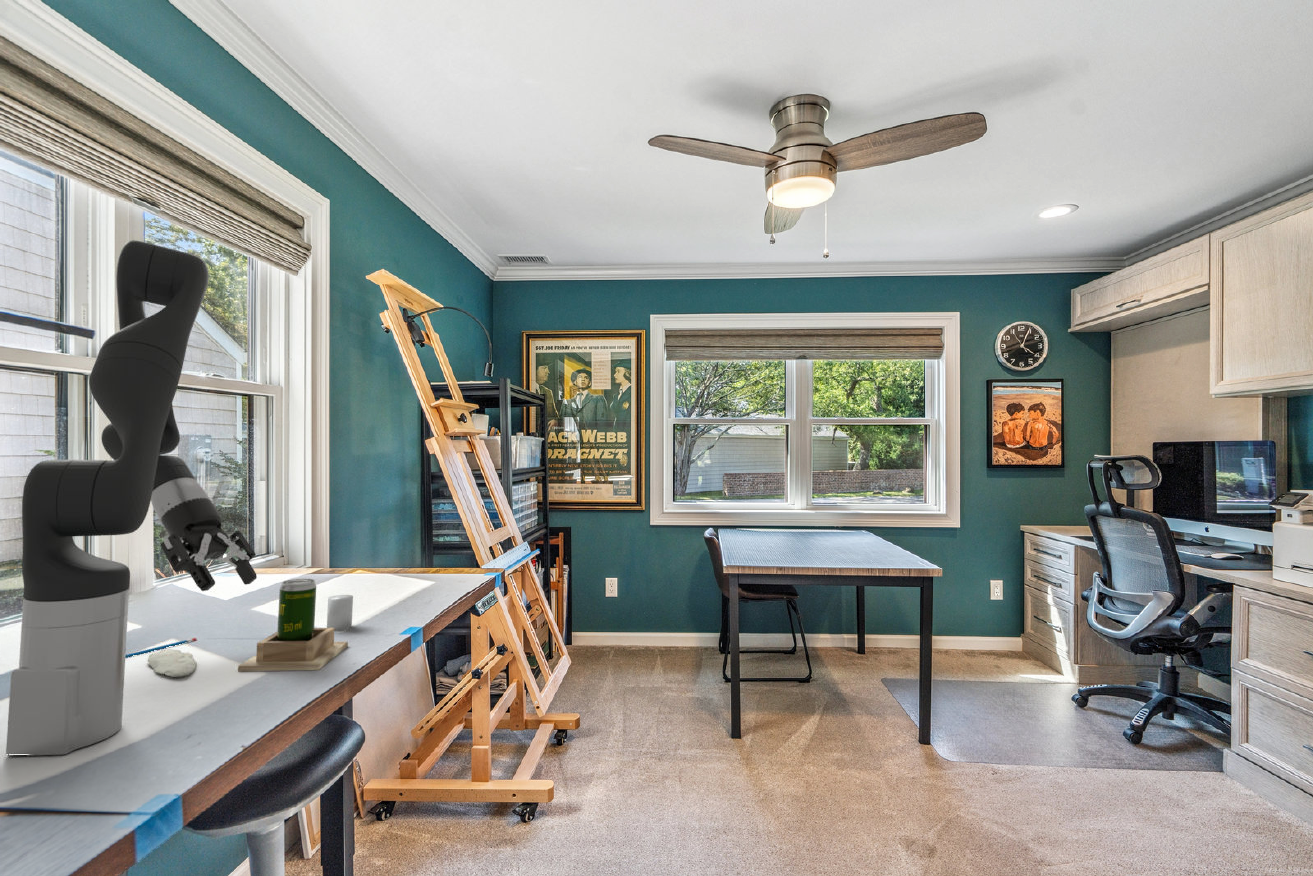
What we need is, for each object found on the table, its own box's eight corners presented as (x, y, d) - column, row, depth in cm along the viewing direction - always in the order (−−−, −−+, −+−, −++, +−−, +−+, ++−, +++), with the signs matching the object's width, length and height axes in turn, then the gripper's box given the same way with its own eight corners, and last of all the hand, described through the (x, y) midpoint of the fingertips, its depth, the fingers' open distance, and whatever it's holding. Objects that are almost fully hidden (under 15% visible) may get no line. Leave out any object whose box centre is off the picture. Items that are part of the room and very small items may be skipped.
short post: (346, 630, 117) (348, 599, 117) (322, 631, 116) (324, 599, 116) (355, 624, 121) (356, 594, 121) (332, 624, 121) (333, 594, 121)
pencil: (196, 642, 108) (196, 638, 108) (76, 672, 93) (76, 668, 93) (194, 641, 109) (194, 637, 109) (73, 671, 93) (73, 667, 93)
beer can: (310, 646, 105) (313, 577, 105) (315, 654, 100) (319, 582, 101) (274, 651, 101) (278, 580, 102) (278, 660, 97) (282, 586, 97)
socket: (318, 670, 96) (319, 646, 96) (237, 671, 94) (239, 646, 94) (347, 646, 108) (348, 624, 108) (276, 647, 106) (277, 625, 106)
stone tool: (142, 664, 98) (160, 684, 88) (143, 651, 98) (162, 669, 89) (186, 657, 103) (208, 676, 93) (187, 644, 103) (209, 662, 93)
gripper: (163, 495, 98) (211, 575, 95) (235, 497, 112) (279, 566, 109) (129, 524, 98) (176, 605, 95) (205, 522, 112) (248, 592, 109)
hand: (231, 584), depth 102 cm, fingers open, 8 cm apart
